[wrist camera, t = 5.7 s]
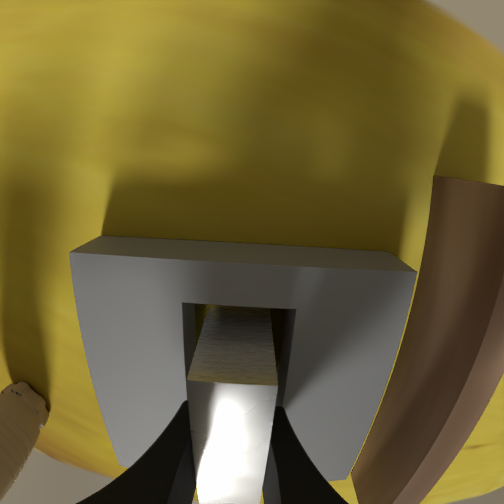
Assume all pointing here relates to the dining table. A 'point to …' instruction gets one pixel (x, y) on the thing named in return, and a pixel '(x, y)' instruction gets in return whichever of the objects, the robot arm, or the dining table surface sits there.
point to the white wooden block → (232, 403)
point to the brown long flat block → (442, 348)
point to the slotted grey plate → (247, 295)
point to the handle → (18, 430)
